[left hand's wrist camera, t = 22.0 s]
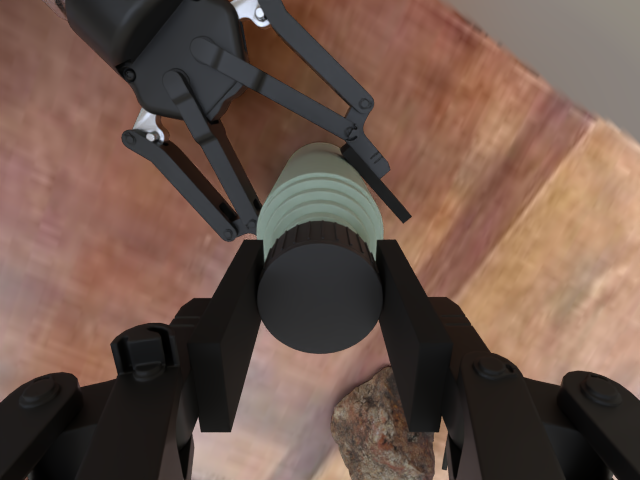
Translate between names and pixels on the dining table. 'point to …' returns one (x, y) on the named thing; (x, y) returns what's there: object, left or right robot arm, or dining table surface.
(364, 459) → the rock
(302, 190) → the bottle
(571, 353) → the dining table surface
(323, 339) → the cap
